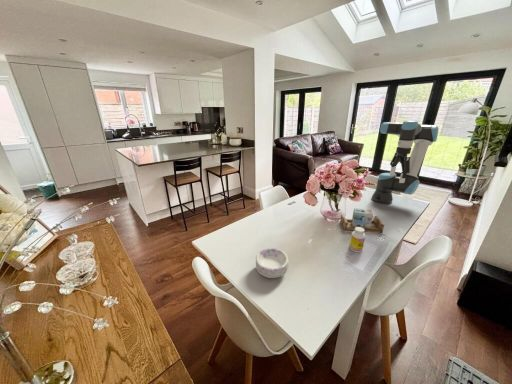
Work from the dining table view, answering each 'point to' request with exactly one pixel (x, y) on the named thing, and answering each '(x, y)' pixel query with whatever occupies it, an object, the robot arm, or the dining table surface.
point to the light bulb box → (362, 218)
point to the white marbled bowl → (272, 263)
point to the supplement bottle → (357, 239)
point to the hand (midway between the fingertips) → (396, 179)
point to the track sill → (375, 228)
